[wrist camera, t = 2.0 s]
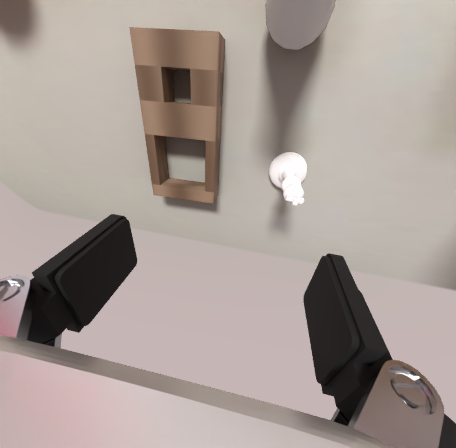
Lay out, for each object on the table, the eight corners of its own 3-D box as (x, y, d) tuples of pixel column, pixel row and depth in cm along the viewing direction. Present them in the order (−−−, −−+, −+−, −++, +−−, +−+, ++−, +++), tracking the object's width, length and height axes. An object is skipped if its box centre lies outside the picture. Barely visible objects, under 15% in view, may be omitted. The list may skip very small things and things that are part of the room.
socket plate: (224, 39, 21) (219, 31, 19) (217, 195, 31) (213, 203, 29) (145, 35, 22) (129, 27, 20) (162, 187, 32) (153, 194, 29)
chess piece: (275, 148, 26) (278, 171, 18) (312, 156, 26) (333, 184, 17) (264, 183, 29) (262, 218, 20) (298, 191, 29) (310, 230, 20)
